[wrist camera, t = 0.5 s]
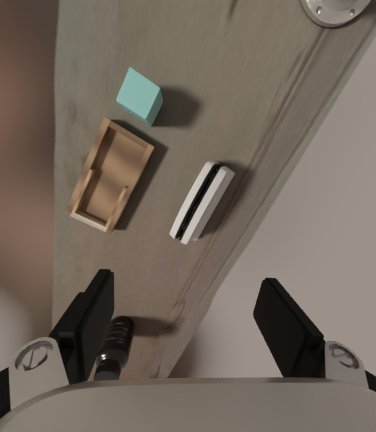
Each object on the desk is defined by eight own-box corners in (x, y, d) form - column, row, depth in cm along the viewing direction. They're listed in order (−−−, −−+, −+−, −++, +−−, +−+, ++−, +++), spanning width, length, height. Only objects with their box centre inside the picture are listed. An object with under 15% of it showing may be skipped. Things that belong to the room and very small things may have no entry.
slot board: (109, 119, 32) (104, 116, 29) (155, 147, 34) (154, 146, 31) (71, 209, 36) (64, 213, 34) (114, 229, 38) (110, 234, 36)
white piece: (197, 240, 40) (186, 257, 31) (179, 229, 41) (162, 242, 31) (235, 171, 36) (237, 167, 27) (215, 161, 37) (209, 152, 27)
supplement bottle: (135, 335, 48) (123, 390, 37) (108, 334, 48) (88, 391, 36) (136, 315, 46) (123, 368, 35) (108, 314, 45) (86, 367, 34)
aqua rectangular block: (139, 86, 30) (129, 67, 24) (163, 102, 31) (160, 88, 25) (128, 111, 31) (115, 100, 25) (151, 126, 32) (145, 119, 26)
